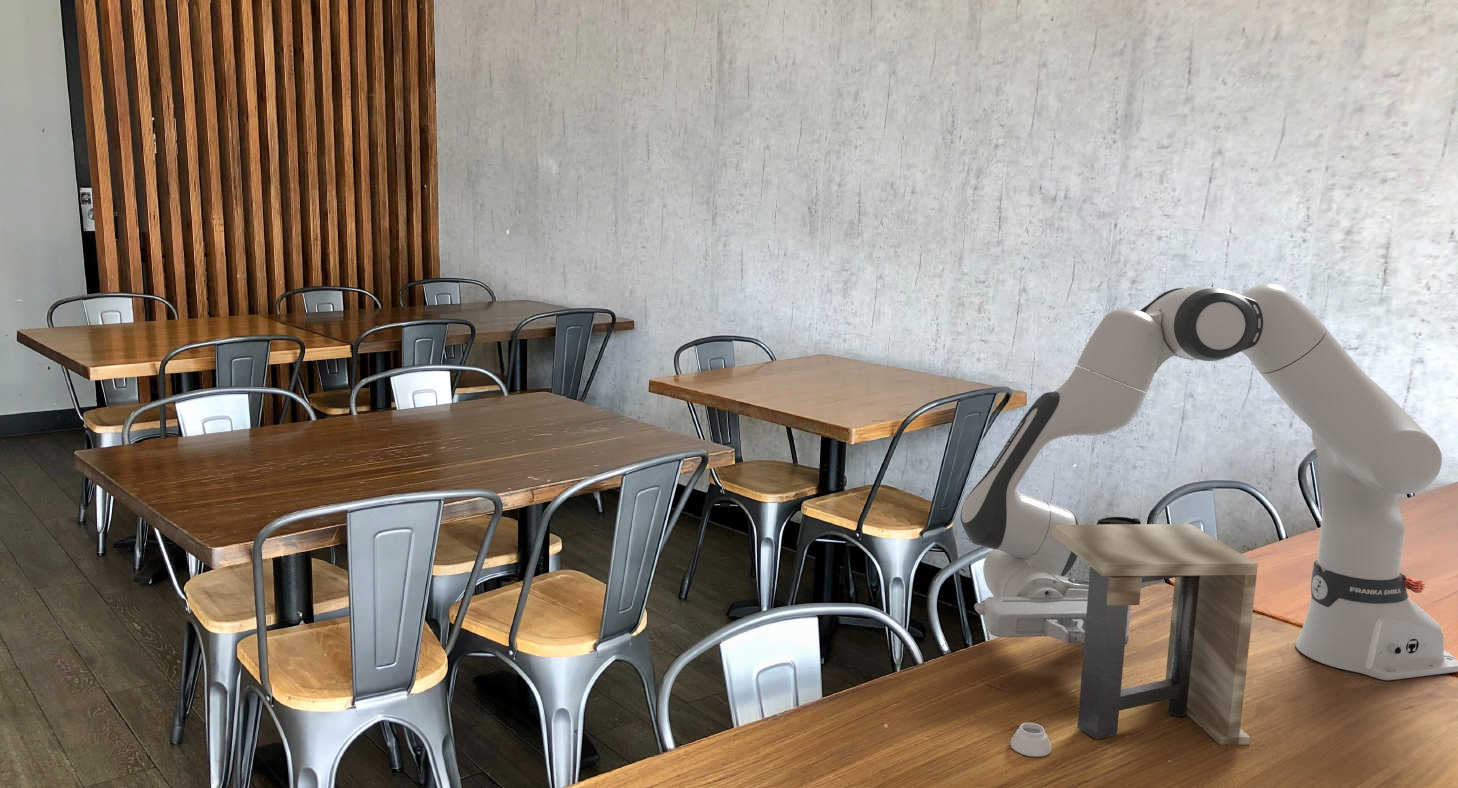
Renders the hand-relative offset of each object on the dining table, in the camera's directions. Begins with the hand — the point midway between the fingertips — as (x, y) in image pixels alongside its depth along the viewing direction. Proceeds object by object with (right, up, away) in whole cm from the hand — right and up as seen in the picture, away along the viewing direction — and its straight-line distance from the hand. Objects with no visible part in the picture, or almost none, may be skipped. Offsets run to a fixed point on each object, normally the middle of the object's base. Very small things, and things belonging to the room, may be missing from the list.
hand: (1075, 638), depth 147 cm
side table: (+8, -10, 0) cm, 13 cm away
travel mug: (+14, -6, +26) cm, 30 cm away
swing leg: (+7, -11, -3) cm, 13 cm away
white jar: (-9, -12, -10) cm, 18 cm away
